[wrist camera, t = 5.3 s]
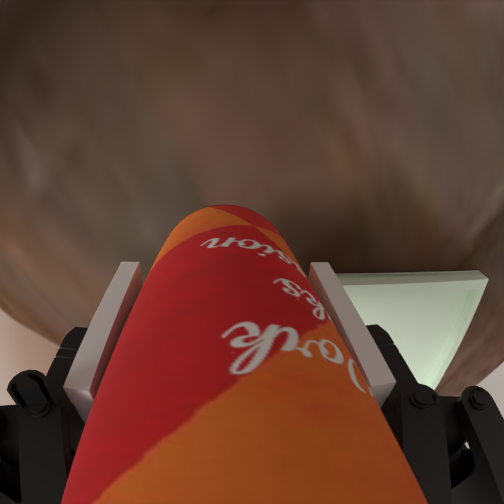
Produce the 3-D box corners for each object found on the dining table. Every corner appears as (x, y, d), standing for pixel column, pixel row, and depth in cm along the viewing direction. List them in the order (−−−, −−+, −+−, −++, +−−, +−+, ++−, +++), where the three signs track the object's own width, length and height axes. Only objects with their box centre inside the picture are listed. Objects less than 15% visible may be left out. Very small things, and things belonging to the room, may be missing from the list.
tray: (289, 411, 28) (291, 424, 27) (317, 273, 22) (323, 285, 20) (422, 391, 30) (427, 400, 28) (478, 270, 23) (488, 278, 22)
